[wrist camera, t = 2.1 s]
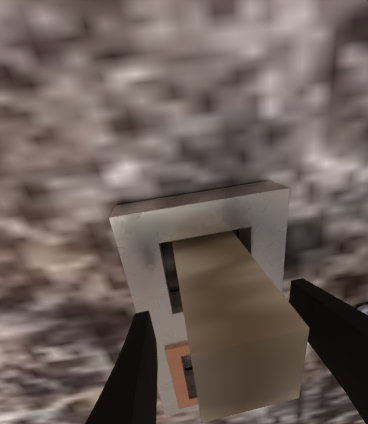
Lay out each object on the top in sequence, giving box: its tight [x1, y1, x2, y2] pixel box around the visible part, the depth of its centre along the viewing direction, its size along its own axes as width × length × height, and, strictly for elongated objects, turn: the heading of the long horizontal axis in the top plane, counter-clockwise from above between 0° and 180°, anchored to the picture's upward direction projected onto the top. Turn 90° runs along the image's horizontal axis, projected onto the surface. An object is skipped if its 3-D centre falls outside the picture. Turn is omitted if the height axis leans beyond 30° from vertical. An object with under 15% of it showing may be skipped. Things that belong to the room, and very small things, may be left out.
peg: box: [172, 230, 309, 423], centre depth 11 cm, size 4×4×8 cm
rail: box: [109, 180, 290, 416], centre depth 15 cm, size 10×19×2 cm, turn 7°
